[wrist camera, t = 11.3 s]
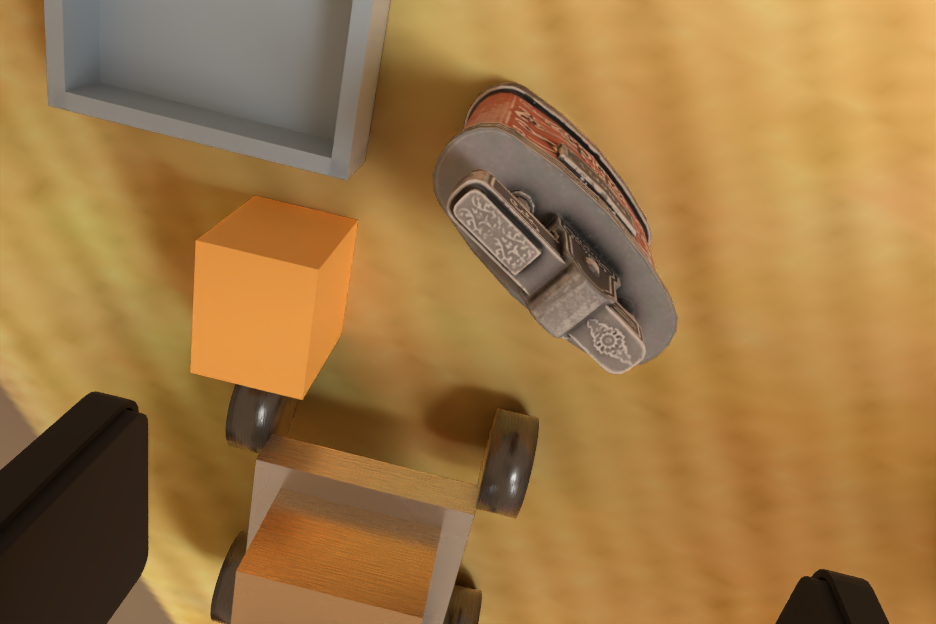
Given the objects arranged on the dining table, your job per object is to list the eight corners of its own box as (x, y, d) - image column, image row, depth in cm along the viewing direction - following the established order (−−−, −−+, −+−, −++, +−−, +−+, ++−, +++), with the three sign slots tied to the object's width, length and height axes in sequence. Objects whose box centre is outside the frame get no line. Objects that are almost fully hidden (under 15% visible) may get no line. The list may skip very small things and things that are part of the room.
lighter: (670, 227, 26) (726, 366, 17) (598, 285, 27) (614, 444, 18) (515, 57, 24) (487, 115, 15) (445, 129, 26) (381, 220, 17)
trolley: (540, 398, 30) (524, 709, 17) (466, 630, 36) (416, 979, 24) (269, 330, 30) (63, 591, 18) (243, 573, 36) (77, 891, 24)
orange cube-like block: (358, 219, 27) (318, 269, 23) (341, 333, 30) (302, 400, 25) (255, 194, 28) (195, 239, 23) (246, 310, 30) (190, 372, 25)
